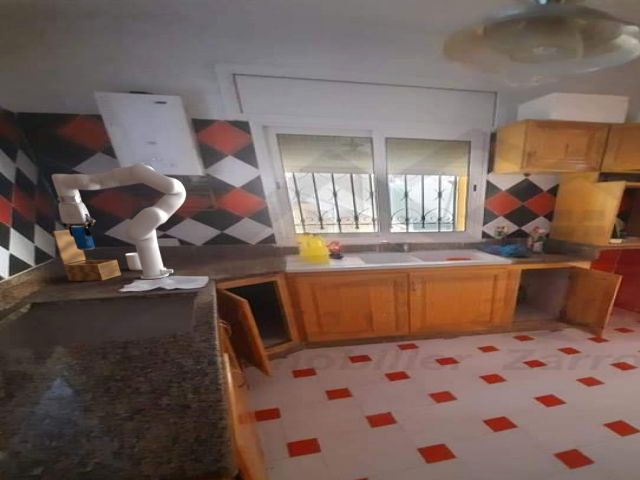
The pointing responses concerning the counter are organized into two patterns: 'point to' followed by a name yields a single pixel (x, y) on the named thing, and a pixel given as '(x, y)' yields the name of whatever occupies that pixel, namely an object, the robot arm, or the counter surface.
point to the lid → (67, 247)
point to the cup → (133, 261)
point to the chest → (92, 270)
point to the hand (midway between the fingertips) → (82, 235)
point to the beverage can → (82, 238)
